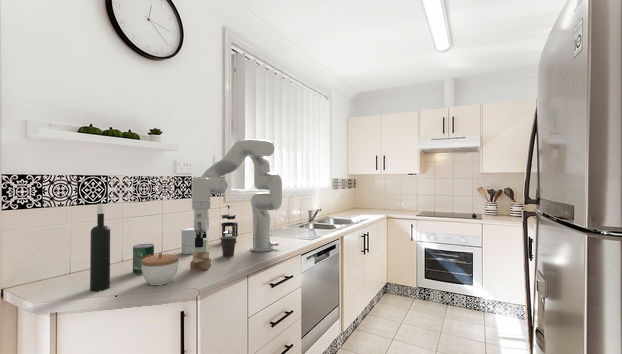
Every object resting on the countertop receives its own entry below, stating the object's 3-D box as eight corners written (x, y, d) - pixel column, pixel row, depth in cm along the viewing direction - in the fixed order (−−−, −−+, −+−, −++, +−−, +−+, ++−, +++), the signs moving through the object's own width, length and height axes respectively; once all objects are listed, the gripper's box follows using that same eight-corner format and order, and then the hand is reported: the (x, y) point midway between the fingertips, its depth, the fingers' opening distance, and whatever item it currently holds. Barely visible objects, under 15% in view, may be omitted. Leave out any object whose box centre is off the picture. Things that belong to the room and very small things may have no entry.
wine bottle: (87, 289, 107) (87, 204, 107) (105, 284, 112) (105, 203, 112) (94, 292, 104) (95, 204, 104) (113, 287, 109) (113, 203, 109)
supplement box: (201, 251, 165) (201, 227, 165) (194, 254, 158) (194, 230, 158) (188, 250, 166) (188, 227, 166) (180, 254, 158) (181, 229, 158)
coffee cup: (216, 255, 154) (217, 236, 155) (230, 253, 160) (230, 234, 160) (225, 258, 149) (225, 238, 149) (239, 255, 155) (239, 236, 155)
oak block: (206, 257, 136) (207, 248, 136) (209, 260, 131) (209, 251, 131) (192, 259, 133) (192, 250, 133) (194, 262, 128) (194, 253, 128)
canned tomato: (134, 270, 130) (134, 244, 130) (154, 268, 133) (154, 242, 133) (131, 275, 123) (131, 248, 123) (153, 273, 126) (153, 246, 126)
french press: (226, 245, 180) (226, 206, 180) (216, 243, 186) (216, 205, 186) (241, 241, 190) (241, 205, 190) (231, 240, 195) (232, 204, 195)
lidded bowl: (176, 286, 110) (176, 255, 110) (137, 290, 106) (137, 258, 106) (180, 276, 122) (180, 248, 122) (145, 278, 118) (145, 250, 119)
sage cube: (207, 249, 135) (207, 238, 135) (206, 251, 130) (206, 240, 130) (195, 249, 134) (196, 238, 134) (193, 252, 129) (193, 240, 129)
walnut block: (210, 266, 136) (210, 257, 136) (207, 271, 129) (207, 262, 129) (194, 267, 135) (194, 258, 135) (190, 272, 128) (190, 262, 128)
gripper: (207, 207, 125) (207, 248, 124) (212, 203, 142) (212, 240, 141) (187, 207, 123) (187, 249, 123) (195, 204, 140) (195, 241, 140)
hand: (200, 244), depth 132 cm, fingers open, 9 cm apart
